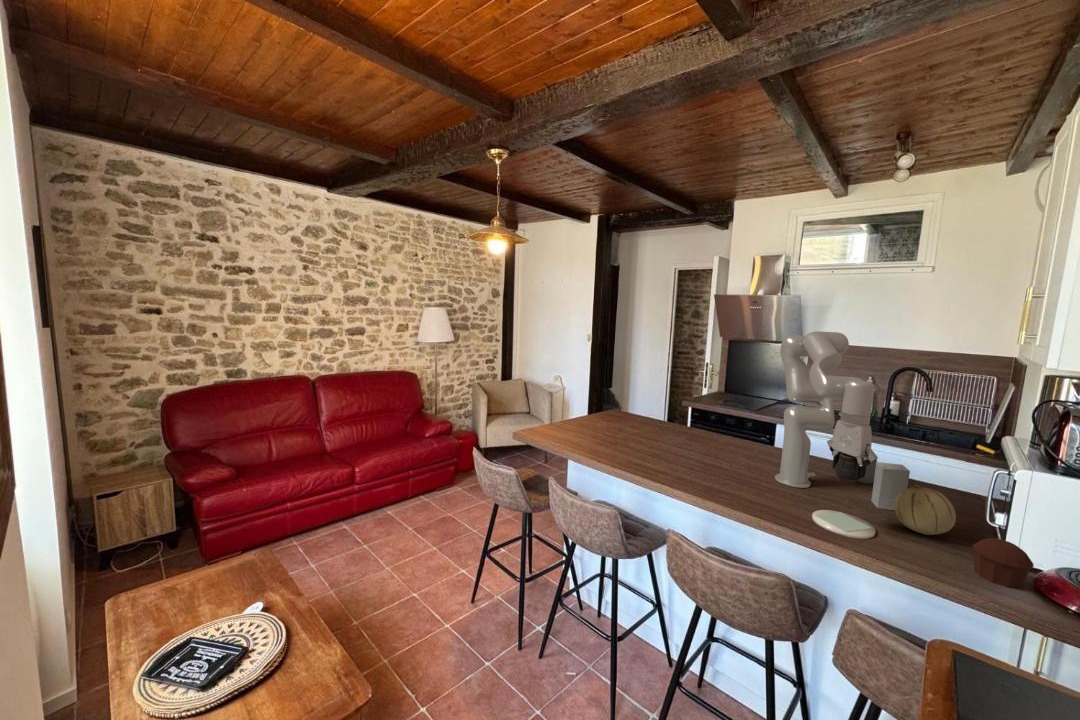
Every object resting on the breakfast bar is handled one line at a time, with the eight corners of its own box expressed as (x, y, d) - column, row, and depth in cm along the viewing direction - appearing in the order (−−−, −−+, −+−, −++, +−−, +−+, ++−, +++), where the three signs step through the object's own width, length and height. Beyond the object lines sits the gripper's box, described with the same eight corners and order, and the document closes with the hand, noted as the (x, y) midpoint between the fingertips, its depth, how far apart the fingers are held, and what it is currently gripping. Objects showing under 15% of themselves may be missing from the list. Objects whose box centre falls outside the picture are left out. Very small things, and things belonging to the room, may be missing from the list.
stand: (837, 510, 153) (838, 507, 153) (888, 535, 137) (889, 531, 137) (800, 515, 148) (800, 511, 148) (847, 541, 132) (848, 537, 132)
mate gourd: (848, 484, 137) (852, 453, 136) (827, 475, 144) (830, 446, 143) (866, 483, 138) (870, 452, 137) (844, 474, 146) (847, 445, 145)
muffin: (1032, 598, 109) (1040, 560, 107) (970, 578, 116) (976, 543, 115) (1024, 577, 117) (1031, 542, 116) (967, 560, 125) (973, 527, 123)
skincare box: (896, 505, 160) (902, 463, 158) (905, 513, 153) (912, 470, 151) (869, 501, 163) (875, 460, 161) (876, 509, 156) (883, 466, 154)
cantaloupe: (957, 549, 130) (965, 501, 129) (895, 534, 138) (902, 489, 136) (944, 529, 143) (952, 485, 141) (888, 516, 151) (894, 474, 149)
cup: (852, 483, 180) (855, 459, 179) (846, 475, 189) (849, 453, 187) (880, 487, 176) (883, 463, 175) (872, 479, 185) (875, 456, 184)
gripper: (821, 412, 146) (815, 463, 148) (873, 427, 129) (865, 484, 131) (838, 412, 148) (832, 462, 150) (892, 426, 131) (884, 482, 134)
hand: (847, 472), depth 141 cm, fingers closed on mate gourd, 7 cm apart
